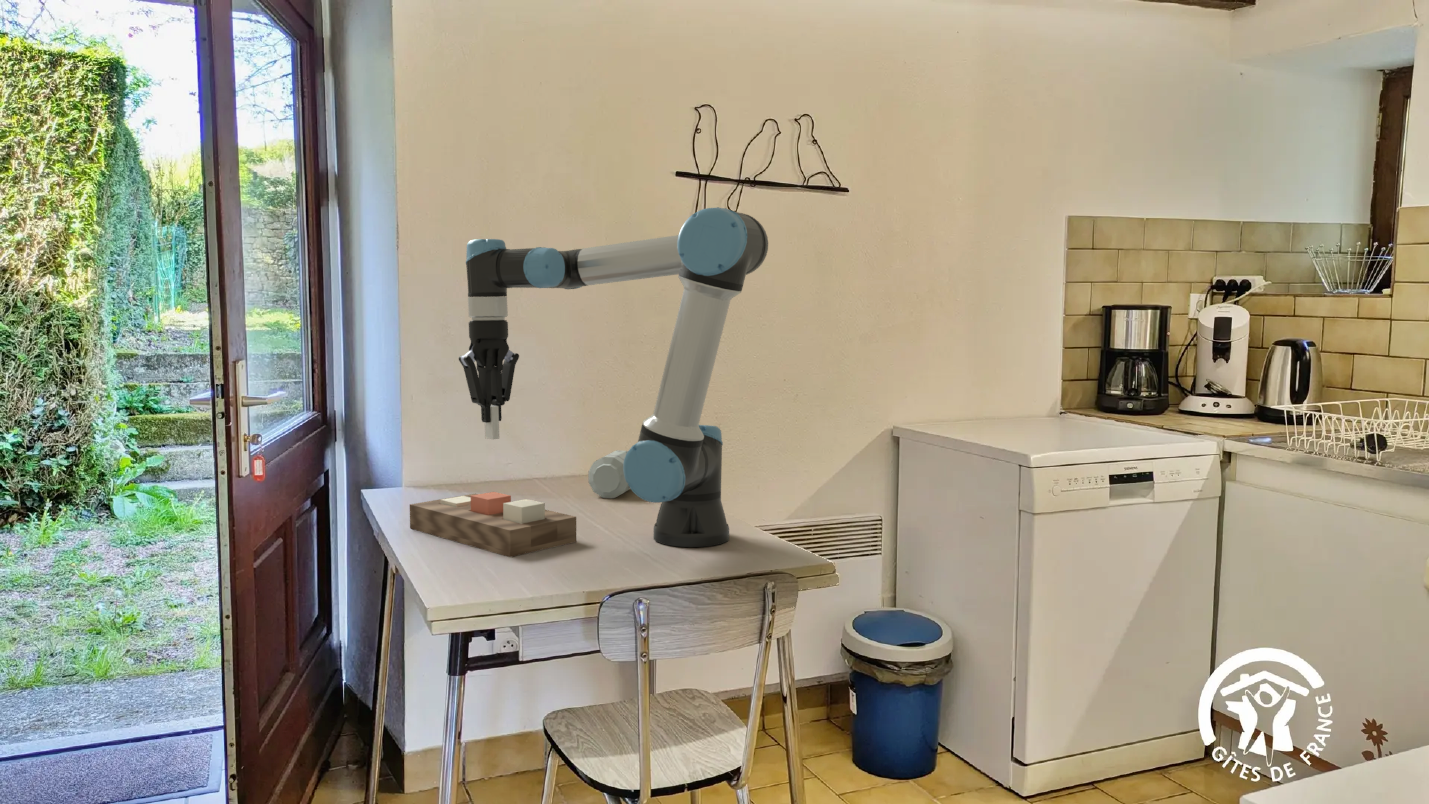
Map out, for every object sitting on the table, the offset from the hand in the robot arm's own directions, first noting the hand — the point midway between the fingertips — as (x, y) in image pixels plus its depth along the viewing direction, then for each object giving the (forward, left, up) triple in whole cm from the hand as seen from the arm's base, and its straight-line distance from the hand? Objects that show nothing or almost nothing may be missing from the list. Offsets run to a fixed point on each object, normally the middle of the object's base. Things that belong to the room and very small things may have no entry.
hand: (492, 438), depth 198 cm
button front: (-10, 0, -16) cm, 19 cm away
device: (+17, -53, -20) cm, 59 cm away
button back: (+11, 0, -18) cm, 21 cm away
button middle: (0, 0, -16) cm, 16 cm away
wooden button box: (0, 0, -20) cm, 20 cm away
